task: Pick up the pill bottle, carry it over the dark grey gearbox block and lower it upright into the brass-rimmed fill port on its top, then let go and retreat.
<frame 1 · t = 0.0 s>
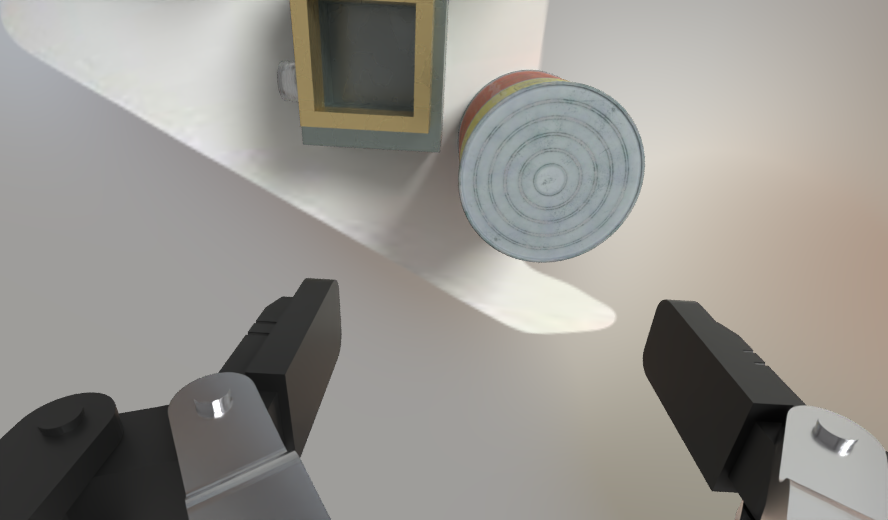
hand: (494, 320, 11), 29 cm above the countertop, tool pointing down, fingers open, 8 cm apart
canned food: (523, 141, 38), on the countertop
gearbox: (382, 56, 35), on the countertop
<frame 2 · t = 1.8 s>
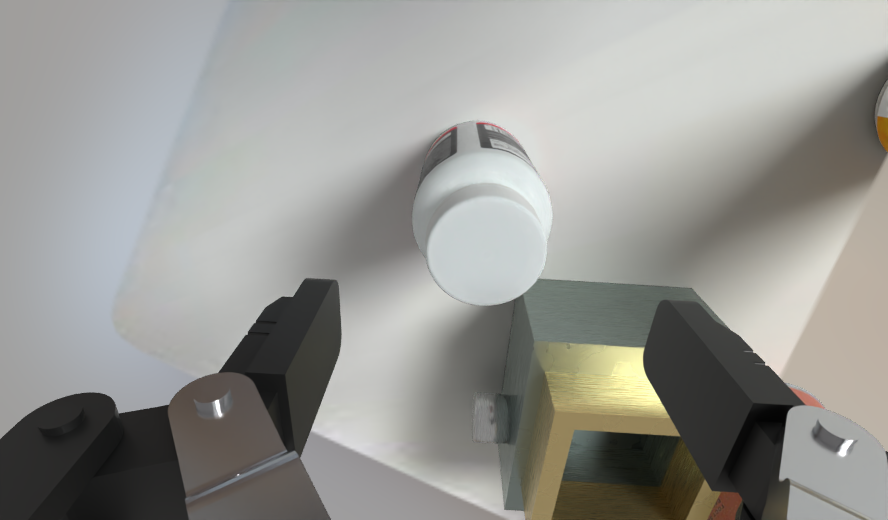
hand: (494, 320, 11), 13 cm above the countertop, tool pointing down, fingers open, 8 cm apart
canned food: (737, 440, 31), on the countertop
gearbox: (584, 364, 28), on the countertop
pill bottle: (475, 171, 23), on the countertop
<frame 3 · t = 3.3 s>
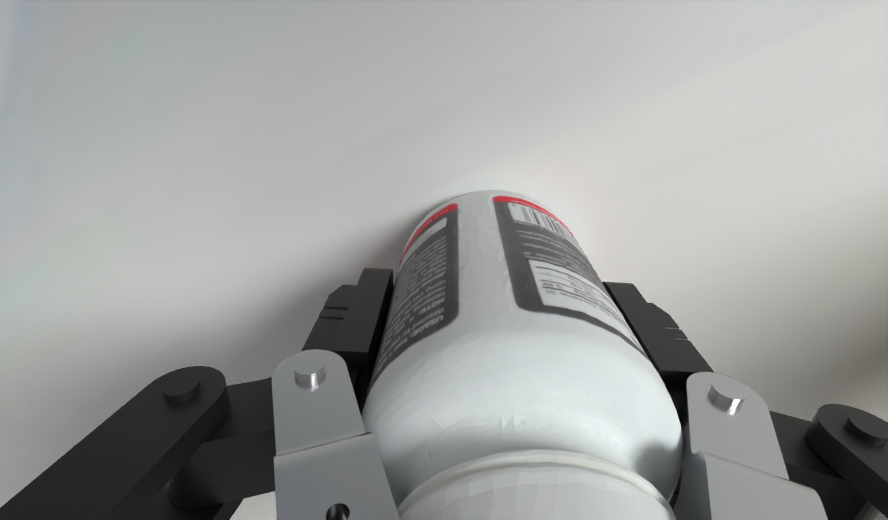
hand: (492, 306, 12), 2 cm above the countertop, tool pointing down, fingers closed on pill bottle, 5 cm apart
pill bottle: (488, 267, 14), on the countertop, touching gripper
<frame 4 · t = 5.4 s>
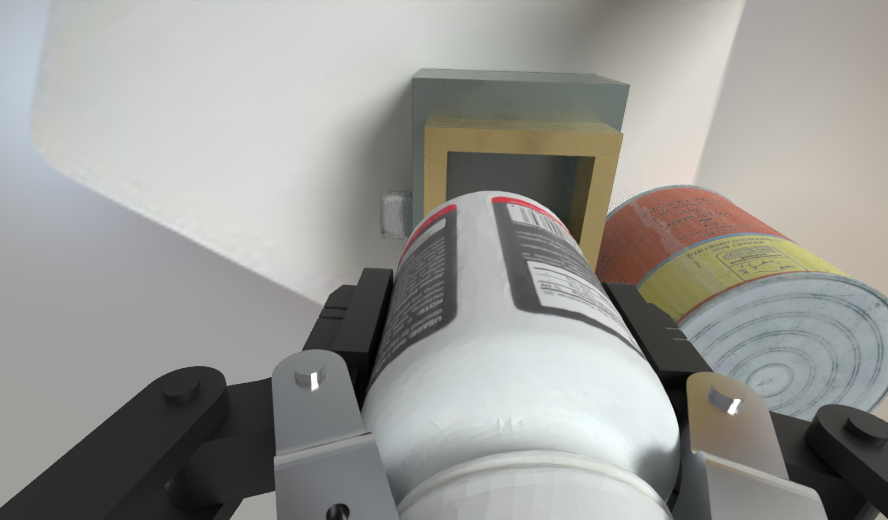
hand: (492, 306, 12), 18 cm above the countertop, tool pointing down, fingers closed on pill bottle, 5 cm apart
canned food: (662, 261, 31), on the countertop
gearbox: (499, 172, 29), on the countertop
pill bottle: (488, 268, 14), point 16 cm above the countertop, touching gripper
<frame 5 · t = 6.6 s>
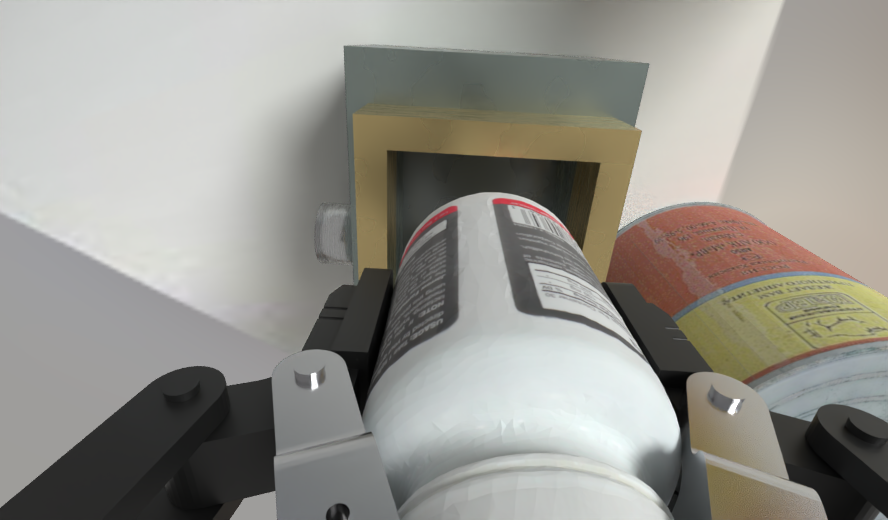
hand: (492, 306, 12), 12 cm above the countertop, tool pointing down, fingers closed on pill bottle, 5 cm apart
canned food: (675, 295, 25), on the countertop
gearbox: (474, 181, 23), on the countertop
pill bottle: (488, 269, 14), point 10 cm above the countertop, touching gripper
when the fingers open (9 cm above the countertop, at t = 7.5 s): pill bottle drops 4 cm, resting on gearbox.
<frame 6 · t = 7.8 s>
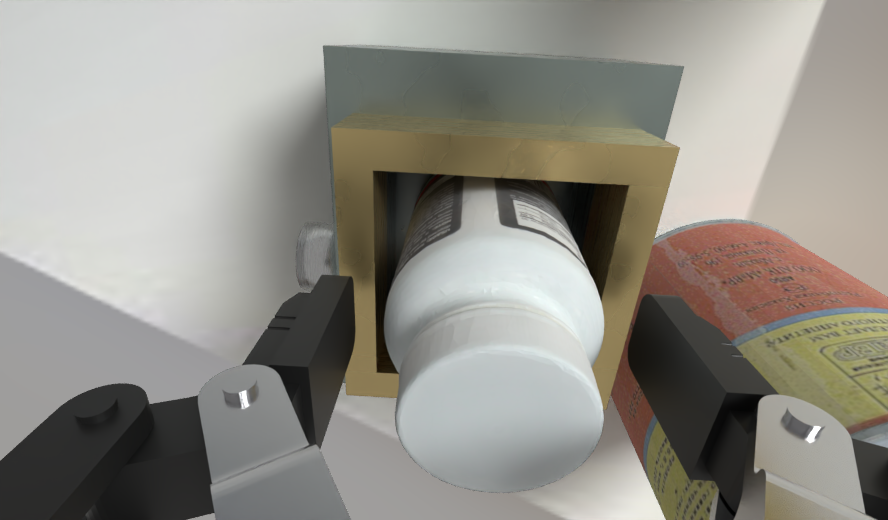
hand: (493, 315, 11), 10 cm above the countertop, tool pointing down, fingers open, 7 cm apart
canned food: (696, 319, 23), on the countertop
gearbox: (476, 196, 20), on the countertop
pill bottle: (485, 217, 17), point 3 cm above the countertop, touching gearbox
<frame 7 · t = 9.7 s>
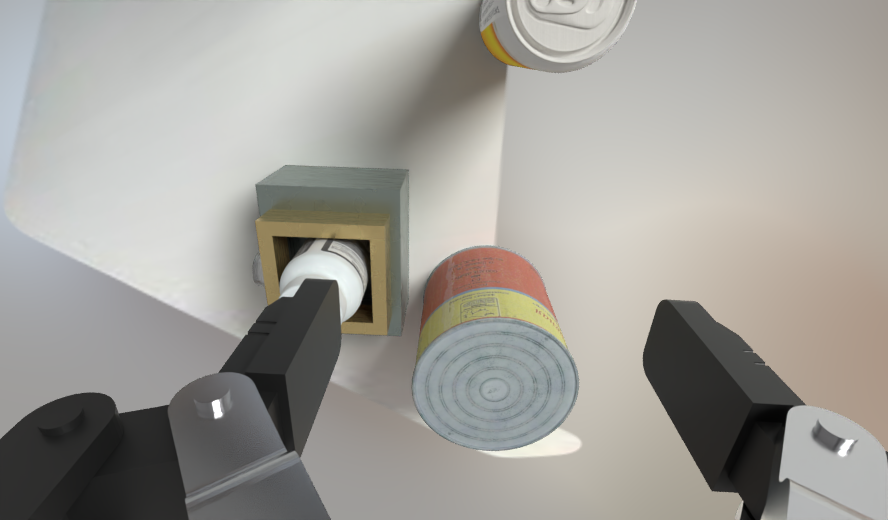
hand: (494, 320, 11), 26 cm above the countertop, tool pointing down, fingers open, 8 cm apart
canned food: (484, 300, 41), on the countertop
gearbox: (351, 236, 39), on the countertop
pill bottle: (343, 248, 35), point 3 cm above the countertop, touching gearbox
beer can: (521, 19, 32), on the countertop
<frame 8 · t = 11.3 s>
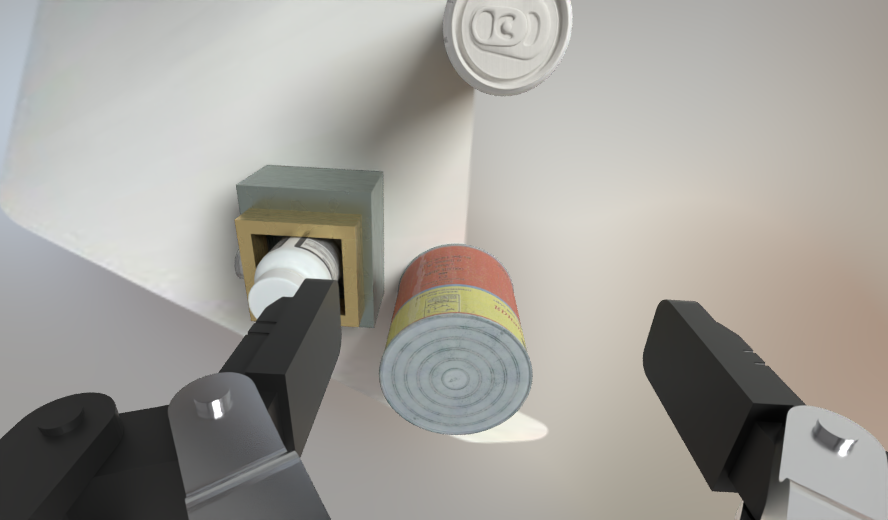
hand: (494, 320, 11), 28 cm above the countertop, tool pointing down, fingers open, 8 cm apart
canned food: (455, 295, 44), on the countertop
gearbox: (329, 232, 41), on the countertop
pill bottle: (320, 244, 38), point 3 cm above the countertop, touching gearbox
beer can: (488, 33, 34), on the countertop
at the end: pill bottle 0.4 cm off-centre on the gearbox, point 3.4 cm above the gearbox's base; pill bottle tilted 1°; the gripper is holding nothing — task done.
